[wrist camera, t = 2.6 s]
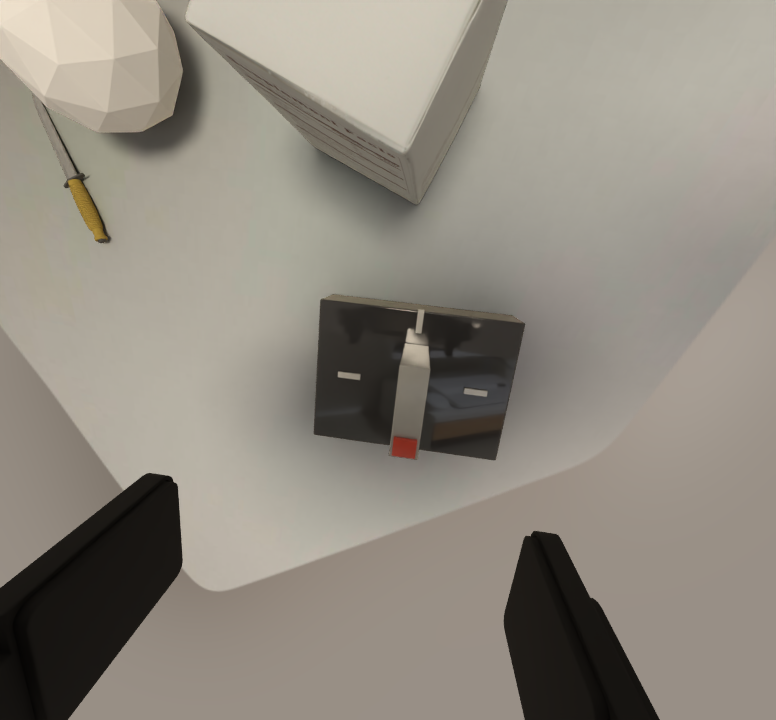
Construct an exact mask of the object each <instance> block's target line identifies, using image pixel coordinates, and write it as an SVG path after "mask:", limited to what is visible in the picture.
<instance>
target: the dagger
mask: <svg viewBox="0 0 776 720" xmlns="http://www.w3.org/2000/svg"><path fill="white" fill-rule="evenodd" d="M31 92H32V91H31ZM32 96H33V100H34V103H35V107H36V109H37V112H38V114H39V116H40V119H41V121H42V123H43V125H44V128H45V130H46V132H47V135H48V137H49V139H50V141H51V144H52V146H53V148H54V151H55V153H56V155H57V157H58V160H59V162H60V164H61V166H62V169H63V171H64V173H65V176H66V178H67V181H66V183H65V184H64V187H65V188H69V187H70V190H71V192H72V195H73V198H74V200H75V202H76V205H77V207H78V209H79V211H80V213H81V215H82V217H83V218H84V221H85V223H86V225H87V226H88V228H89V229H90V230H91V231H92V232H93V234H94V236H95V238H94V239H95V241H97V242H99V243H104V242H106V240H107V239H108V238H107V236H105V235H104V232H103V230H102V229H103V226H102V222H101V220H100V217H99V215H98V213H97V210H96V208H95V206H94V204H93V202H92V200H91V198H90V196H89V194H88V192H87V191H86V189H85V187H84V185H83V183H82V182H81V181H82V179H83V178H84V176H85V175H84V174H83V173H79V174H77V172H76V170H75V168H74V166H73V164H72V162H71V160H70V158H69V156H68V154H67V152H66V150H65V148H64V146H63V144H62V142H61V140H60V138H59V136H58V134H57V132H56V130H55V128H54V126H53V124H52V122H51V120H50V118H49V116H48V114H47V111H46V109H45V107H44V105H43V103H42V101H41V100H40V99H39V98H38V97H37V96H36V95H35V94H34V93H33V92H32Z"/></svg>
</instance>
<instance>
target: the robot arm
mask: <svg viewBox="0 0 776 720" xmlns="http://www.w3.org/2000/svg"><path fill="white" fill-rule="evenodd" d="M182 561H183V559H182V544H181V528H180V513H179V498H178V486H177V484H176V483H174V482H173V479H172V477H170V476H166V475H159V474H153V473H148V474H145V475H144V476H142V477H141V478H140V479H138V480H137V481H136V482H134V483H133V484H132V485H131V486H129V487H128V488H127V489H126V490H124V491H123V492H122V493H120V494H119V495H118V496H117V497H116V498H114V499H113V500H112V501H110V502H109V503H108V504H107V505H105V506H104V507H103V508H102V509H100V510H99V511H98V512H96V513H95V514H94V515H93V516H91V517H90V518H89V519H88V520H86V521H85V522H84V523H83V524H81V525H80V526H79V527H77V528H76V529H75V530H73V531H72V532H71V533H70V534H68V535H67V536H66V537H65V538H63V539H62V540H61V541H59V542H58V543H57V544H56V545H54V546H53V547H52V548H51V549H49V550H48V551H47V552H46V553H44V554H43V555H42V556H41V557H39V558H38V559H37V560H35V561H34V562H33V563H31V564H30V565H29V566H28V567H27V568H25V569H24V570H23V571H21V572H20V573H19V574H18V575H16V576H15V577H14V578H12V579H11V580H10V581H9V582H7V583H6V584H5V585H4V586H2V587H1V588H0V720H68V718H69V717H70V716H71V715H72V713H73V712H74V711H75V709H76V708H77V707H78V706H79V704H80V703H81V702H82V700H83V699H84V698H85V696H86V695H87V694H88V692H89V691H90V690H91V689H92V687H93V686H94V685H95V683H96V682H97V681H98V679H99V678H100V677H101V675H102V674H103V673H104V671H105V670H106V669H107V668H108V666H109V665H110V664H111V662H112V661H113V660H114V658H115V657H116V656H117V654H118V653H119V652H120V651H121V649H122V647H123V646H124V645H125V644H126V643H127V641H128V640H129V639H130V637H131V636H132V635H133V633H134V632H135V631H136V630H137V628H138V627H139V626H140V624H141V623H142V622H143V620H144V619H145V618H146V616H147V615H148V614H149V612H150V611H151V610H152V608H153V607H154V606H155V604H156V603H157V602H158V601H159V599H160V598H161V597H162V595H163V594H164V593H165V592H166V590H167V589H168V588H169V586H170V585H171V584H172V582H173V581H174V580H175V578H176V577H177V576H178V574H179V572H180V569H181V567H182ZM504 629H505V634H506V639H507V643H508V647H509V652H510V656H511V660H512V665H513V669H514V674H515V678H516V682H517V687H518V691H519V696H520V700H521V705H522V709H523V713H524V718H525V720H660V719H659V718H658V716H657V714H656V712H655V710H654V708H653V706H652V704H651V702H650V700H649V698H648V696H647V694H646V693H645V691H644V689H643V687H642V685H641V683H640V681H639V679H638V677H637V675H636V673H635V671H634V669H633V667H632V666H631V664H630V662H629V660H628V658H627V656H626V654H625V652H624V650H623V648H622V646H621V644H620V642H619V640H618V638H617V637H616V635H615V633H614V631H613V629H612V627H611V625H610V623H609V621H608V619H607V617H606V615H605V614H604V612H603V610H602V608H601V606H600V605H599V603H598V602H597V601H596V600H594V599H593V598H590V597H589V594H588V592H587V591H586V588H585V586H584V584H583V582H582V581H581V578H580V576H579V575H578V573H577V570H576V568H575V567H574V564H573V563H572V560H571V559H570V557H569V554H568V552H567V551H566V549H565V546H564V544H563V542H562V541H561V539H560V537H559V536H558V535H557V534H552V533H546V532H539V531H533V533H532V534H531V536H525V538H524V540H523V544H522V548H521V552H520V556H519V560H518V563H517V567H516V571H515V575H514V579H513V583H512V586H511V590H510V594H509V598H508V602H507V605H506V609H505V614H504Z"/></svg>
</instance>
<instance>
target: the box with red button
mask: <svg viewBox="0 0 776 720" xmlns="http://www.w3.org/2000/svg"><path fill="white" fill-rule="evenodd" d="M430 370H431V368H430V352H429V346H423V345H415V344H407V343H405V344H404V347H403V352H402V356H401V361H400V365H399V373H398V382H397V390H396V398H395V407H394V415H393V424H392V432H391V440H390V449H389V456H394V457H401V458H408V459H414V460H417V459H418V452H419V446H420V439H421V432H422V425H423V418H424V411H425V405H426V398H427V391H428V384H429V377H430Z"/></svg>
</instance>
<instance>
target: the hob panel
mask: <svg viewBox="0 0 776 720" xmlns="http://www.w3.org/2000/svg"><path fill="white" fill-rule="evenodd" d="M524 327H525V323H523V322H522V321H520V320H519V319H517V318H516V317H514V316H513V315H506V314H497V313H489V312H480V311H472V310H463V309H455V308H446V307H438V306H429V305H421V304H412V303H404V302H395V301H387V300H378V299H370V298H361V297H353V296H344V295H336V294H333V295H330V296H328V297H325V298H323V299H321V300H320V320H319V340H318V359H317V379H316V398H315V418H314V435H320V436H327V437H334V438H341V439H349V440H356V441H363V442H370V443H377V444H384V445H390V440H391V432H392V424H393V415H394V407H395V398H396V390H397V382H398V373H399V365H400V361H401V356H402V352H403V347H404V344H405V343H407V344H415V345H423V346H429V352H430V368H431V370H430V377H429V384H428V391H427V398H426V405H425V411H424V418H423V425H422V432H421V439H420V446H419V450H426V451H433V452H440V453H447V454H454V455H461V456H468V457H475V458H482V459H489V460H496V457H497V452H498V447H499V443H500V438H501V434H502V429H503V424H504V420H505V415H506V410H507V406H508V401H509V397H510V392H511V387H512V383H513V378H514V374H515V369H516V364H517V360H518V355H519V350H520V346H521V341H522V337H523V332H524Z"/></svg>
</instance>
